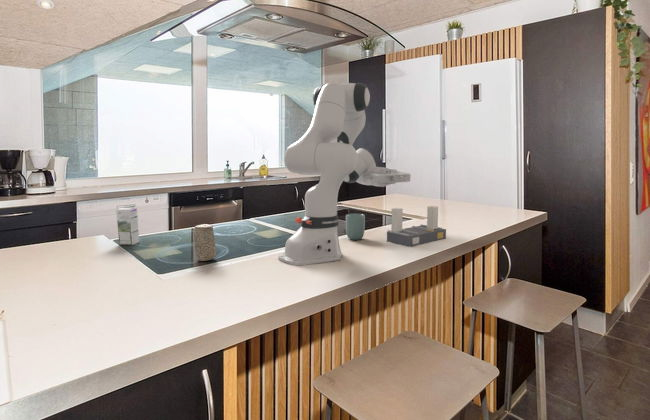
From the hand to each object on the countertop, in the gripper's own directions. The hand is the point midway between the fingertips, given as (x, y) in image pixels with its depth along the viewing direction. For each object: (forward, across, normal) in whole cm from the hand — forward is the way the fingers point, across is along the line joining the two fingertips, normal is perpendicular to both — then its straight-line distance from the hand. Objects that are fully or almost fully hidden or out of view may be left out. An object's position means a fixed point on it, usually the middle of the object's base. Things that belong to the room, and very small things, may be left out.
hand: (404, 179), depth 183 cm
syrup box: (-57, -98, +27) cm, 116 cm away
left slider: (+10, -14, +20) cm, 26 cm away
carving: (-12, -84, +26) cm, 89 cm away
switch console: (+13, -6, +24) cm, 28 cm away
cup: (-4, -23, +24) cm, 34 cm away
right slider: (+15, +1, +19) cm, 24 cm away
